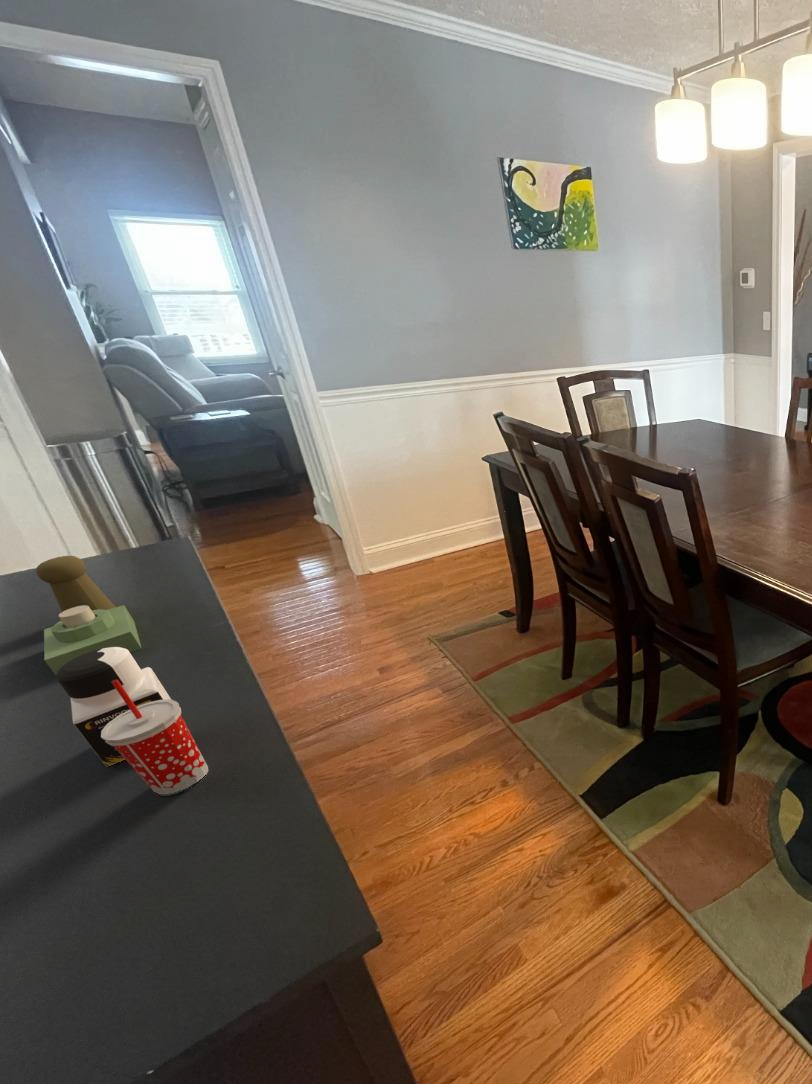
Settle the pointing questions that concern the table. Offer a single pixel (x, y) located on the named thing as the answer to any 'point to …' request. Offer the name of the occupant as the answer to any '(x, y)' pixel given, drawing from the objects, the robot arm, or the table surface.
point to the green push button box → (90, 636)
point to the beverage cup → (156, 744)
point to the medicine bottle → (106, 693)
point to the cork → (72, 584)
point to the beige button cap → (77, 616)
